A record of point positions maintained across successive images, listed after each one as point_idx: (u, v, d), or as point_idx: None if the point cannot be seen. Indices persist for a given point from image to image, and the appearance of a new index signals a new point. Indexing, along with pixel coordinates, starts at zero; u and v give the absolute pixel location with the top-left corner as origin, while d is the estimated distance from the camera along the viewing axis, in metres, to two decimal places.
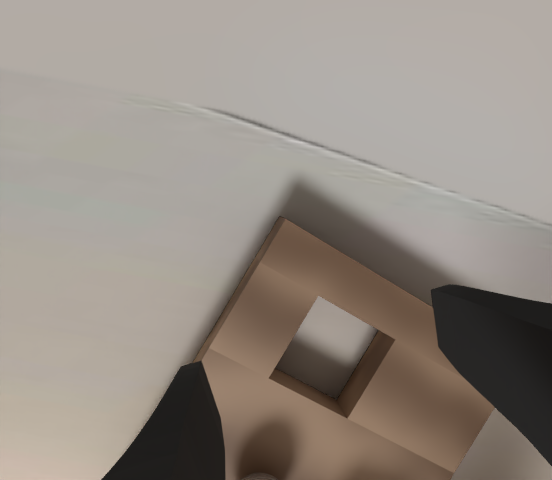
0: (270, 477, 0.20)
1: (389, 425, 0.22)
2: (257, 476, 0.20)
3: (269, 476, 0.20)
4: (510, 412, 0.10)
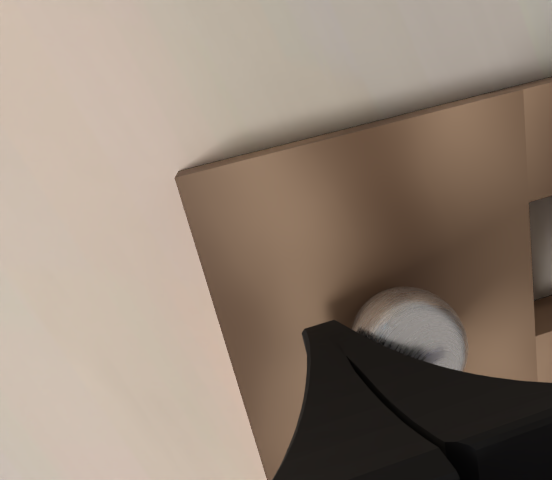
0: None
1: None
2: None
3: None
4: None
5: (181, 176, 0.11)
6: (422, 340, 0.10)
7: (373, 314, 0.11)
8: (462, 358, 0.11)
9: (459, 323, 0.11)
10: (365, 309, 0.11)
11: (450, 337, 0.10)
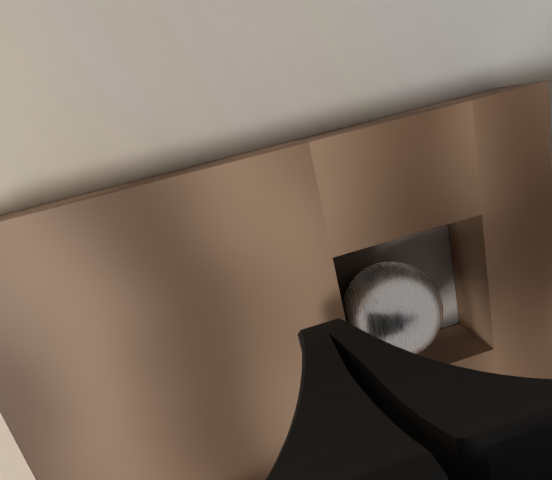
0: (419, 327, 0.12)
1: None
2: (412, 306, 0.12)
3: (420, 325, 0.12)
4: None
5: None
6: (347, 292, 0.14)
7: (374, 264, 0.14)
8: None
9: (371, 315, 0.12)
10: None
11: (353, 308, 0.13)
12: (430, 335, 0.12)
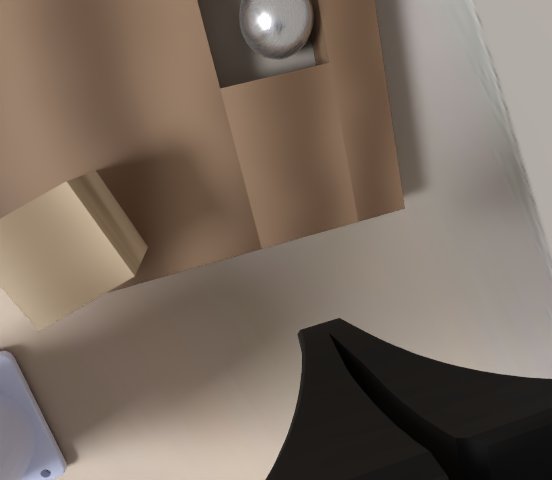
0: (311, 9, 0.17)
1: (249, 139, 0.18)
2: None
3: (311, 8, 0.17)
4: None
5: None
6: None
7: None
8: (273, 17, 0.16)
9: None
10: None
11: None
12: (312, 23, 0.18)
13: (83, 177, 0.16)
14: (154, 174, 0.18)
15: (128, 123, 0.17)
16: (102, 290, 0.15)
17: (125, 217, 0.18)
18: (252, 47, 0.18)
